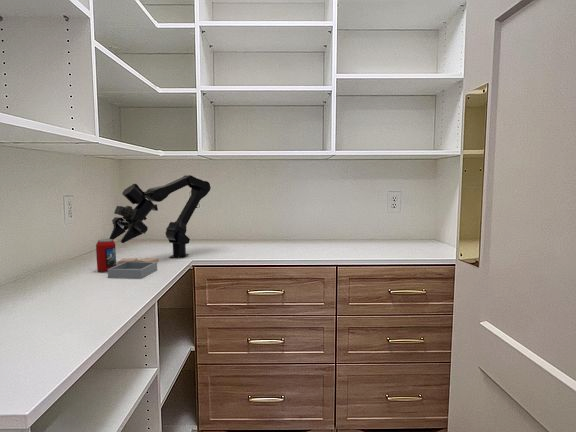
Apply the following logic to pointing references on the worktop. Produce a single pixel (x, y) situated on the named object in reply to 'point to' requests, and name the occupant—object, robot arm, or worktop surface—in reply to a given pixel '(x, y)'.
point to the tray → (132, 270)
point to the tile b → (148, 260)
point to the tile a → (127, 260)
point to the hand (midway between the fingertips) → (115, 241)
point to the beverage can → (105, 254)
